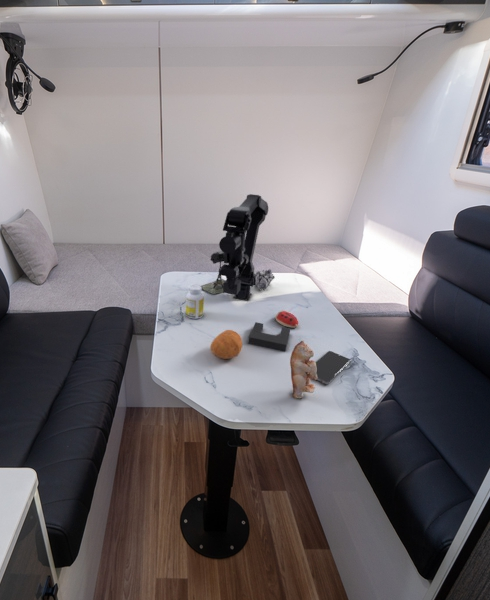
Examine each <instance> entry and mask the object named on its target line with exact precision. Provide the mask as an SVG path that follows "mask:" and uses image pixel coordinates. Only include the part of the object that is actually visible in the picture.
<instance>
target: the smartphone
mask: <svg viewBox="0 0 490 600" xmlns="http://www.w3.org/2000/svg"><path fill="white" fill-rule="evenodd" d="M314 362H315V363H316V367H317V372H316V374H317V379H316V380H315V381H318V382H319V383H322V384H324V385H329V384H330V383H331V382H332V381H333V380H334V379H335V378H336V377H337V376H338V375H339V374H340V373H341V372H342V371H343V370H344V369H345V368H346V367H347V366H348V365H349V364H350V363H351V362H352V360H351V359H350V358H348V357H346V356H343V355H341V354H339V353H337V352H334V351H331V350H328V351H326V352H325V353H324V354H323V355H322V356H321V357H319V358H318V359H317V360H316V361H314Z"/></svg>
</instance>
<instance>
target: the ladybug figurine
mask: <svg viewBox="0 0 490 600" xmlns="http://www.w3.org/2000/svg"><path fill="white" fill-rule="evenodd" d="M275 321H276V322H277V323H278V324H280V325H281V326H284V327H285V328H288V329H295V328H298V327H299V320H298V318H297V316H295V315H294V314H293V313H291V312H289V311H285V310H281V311H279V312H278V313H277V314H276V315H275Z"/></svg>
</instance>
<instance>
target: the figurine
mask: <svg viewBox="0 0 490 600" xmlns="http://www.w3.org/2000/svg"><path fill="white" fill-rule="evenodd" d="M314 354H315V351H313V350H311V348H310V346H309V345H308V344H306V343H305V341H304V340H301V341H299V342H298V343H297V344H295V345H294V347H293V350H292V352H291V355H290V358H289V359H290V360H289V365H290V378H291V379H290V380H291V384H292V396H293V398H295V399H302V398H304V393H310V394H313V393H314V392H315V389H316V385H315V384H313V383H312V382H311V380H315V381H317V380H316V379H317V374H316V372H317V367H316V363H315V362H316V361H314V360H311V358H313V357H314V356H315V355H314Z"/></svg>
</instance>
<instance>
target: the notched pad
mask: <svg viewBox="0 0 490 600" xmlns="http://www.w3.org/2000/svg"><path fill="white" fill-rule="evenodd" d="M263 329H264V323H261V322H257V321H256V322H254V324H253V327H252V329H251V331H250V334H249V336H248V342H247V343H248V344H249V345H254V346H258V347H263V348H267V349H271V350H278V351H281V352H286V350H287V346H288V343H289V339H290V334H291V328H289V327H281V329H280V333H279V335H275V334H271V333H265V332H263Z"/></svg>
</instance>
